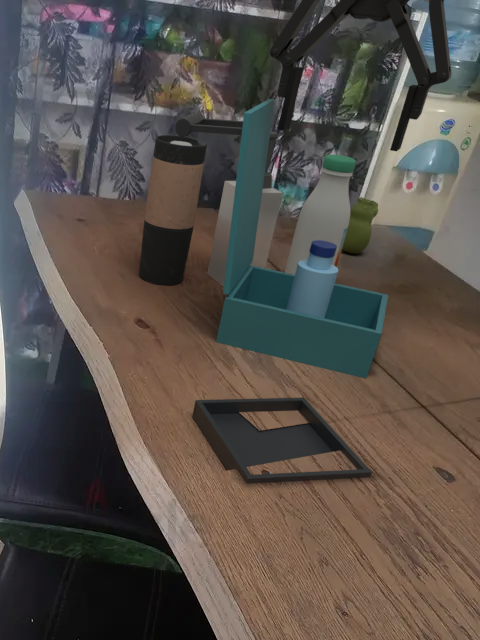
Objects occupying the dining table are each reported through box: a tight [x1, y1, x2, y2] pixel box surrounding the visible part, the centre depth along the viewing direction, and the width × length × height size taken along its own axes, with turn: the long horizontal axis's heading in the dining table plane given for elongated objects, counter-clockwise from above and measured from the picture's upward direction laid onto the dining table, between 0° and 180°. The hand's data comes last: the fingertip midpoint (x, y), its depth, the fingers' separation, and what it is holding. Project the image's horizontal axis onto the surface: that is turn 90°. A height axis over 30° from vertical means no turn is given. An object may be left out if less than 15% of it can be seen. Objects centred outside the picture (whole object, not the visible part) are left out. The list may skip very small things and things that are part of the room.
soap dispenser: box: [206, 130, 284, 287], centre depth 114 cm, size 6×9×22 cm
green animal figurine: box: [342, 196, 379, 255], centre depth 137 cm, size 6×5×10 cm
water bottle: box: [286, 240, 339, 318], centre depth 97 cm, size 5×5×13 cm
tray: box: [192, 397, 373, 485], centre depth 77 cm, size 15×13×2 cm
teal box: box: [215, 265, 389, 379], centre depth 99 cm, size 20×16×7 cm
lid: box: [174, 98, 276, 295], centre depth 95 cm, size 20×16×10 cm
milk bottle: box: [284, 154, 357, 275], centre depth 114 cm, size 8×8×20 cm
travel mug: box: [138, 134, 208, 286], centre depth 112 cm, size 8×8×20 cm
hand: (337, 139), depth 88 cm, fingers open, 13 cm apart
